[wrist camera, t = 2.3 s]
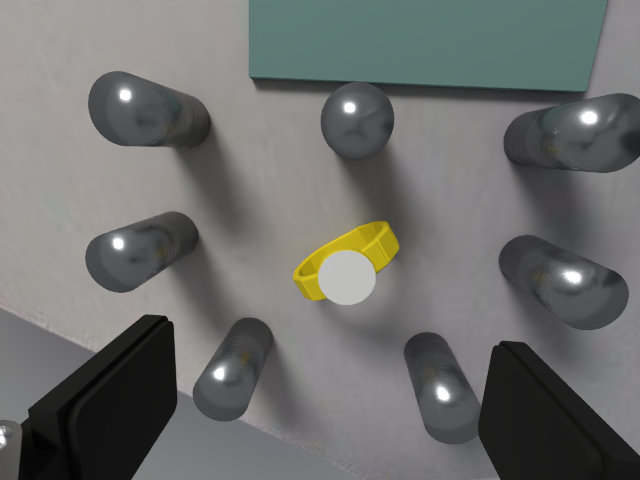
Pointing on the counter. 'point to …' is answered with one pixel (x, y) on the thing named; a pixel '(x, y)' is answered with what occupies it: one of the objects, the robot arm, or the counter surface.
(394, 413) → the counter surface
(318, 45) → the mat
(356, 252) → the watch
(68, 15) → the counter surface
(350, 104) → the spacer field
